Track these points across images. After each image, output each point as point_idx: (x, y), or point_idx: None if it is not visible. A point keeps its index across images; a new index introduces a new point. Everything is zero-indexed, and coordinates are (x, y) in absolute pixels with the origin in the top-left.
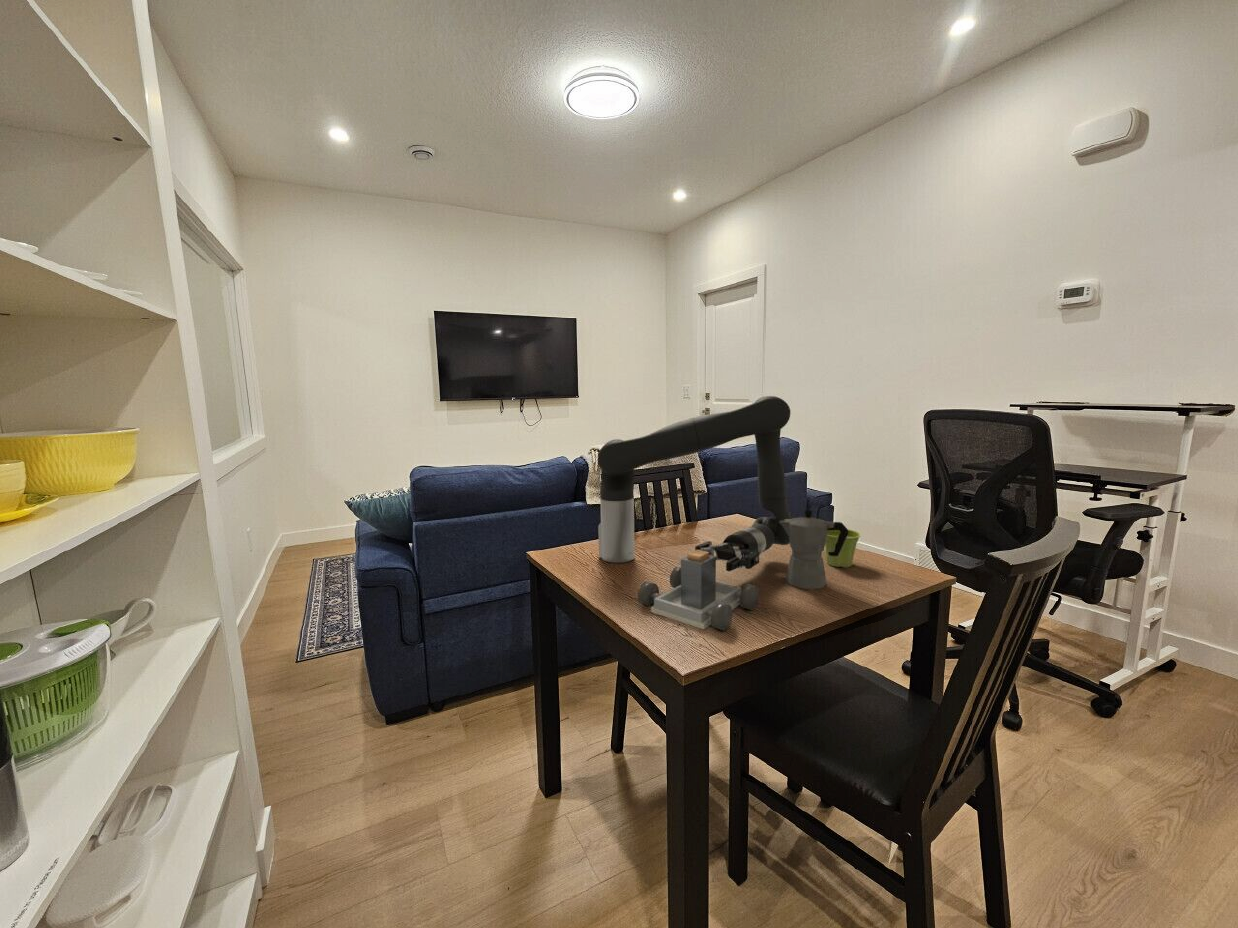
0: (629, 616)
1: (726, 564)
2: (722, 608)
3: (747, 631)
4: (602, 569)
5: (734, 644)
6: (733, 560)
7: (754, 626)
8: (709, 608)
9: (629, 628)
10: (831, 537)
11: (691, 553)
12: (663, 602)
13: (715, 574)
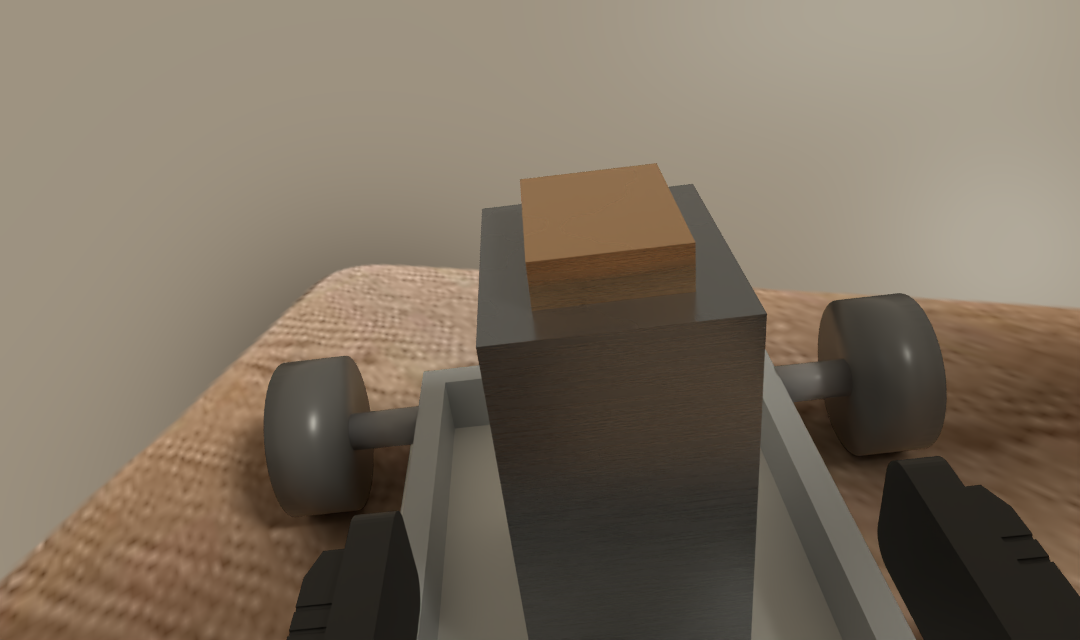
0: (792, 327)
1: (401, 526)
2: (289, 363)
3: (192, 551)
4: None
5: (232, 431)
6: (334, 610)
7: (156, 625)
8: (415, 428)
9: None
10: None
11: (645, 182)
12: None
13: (506, 513)
